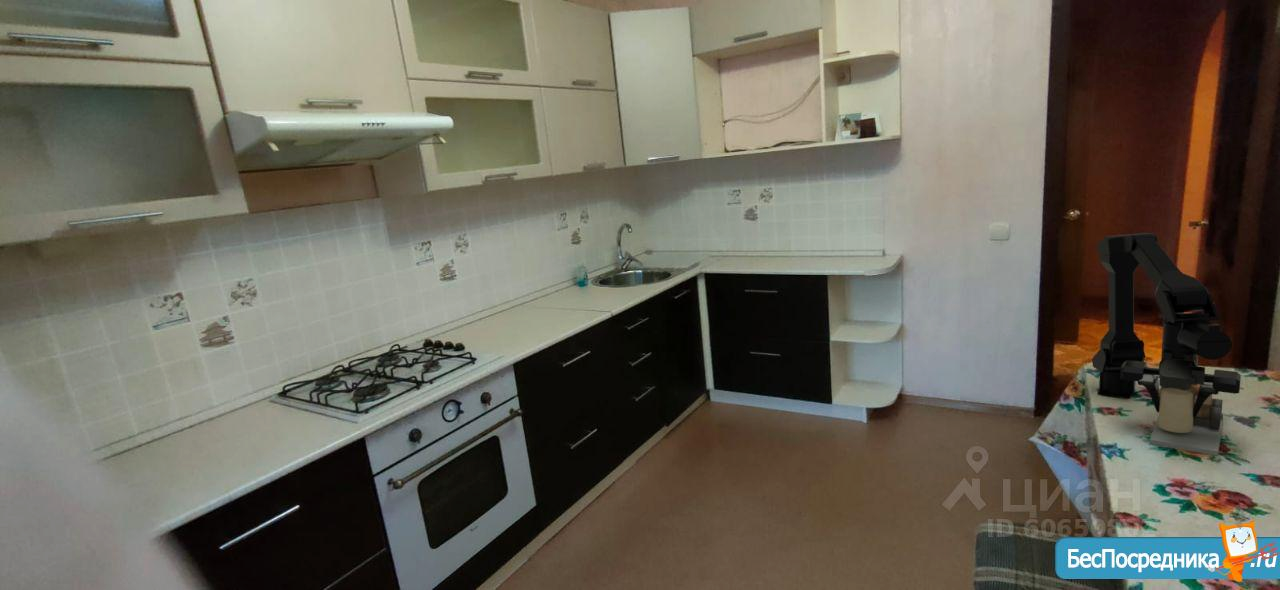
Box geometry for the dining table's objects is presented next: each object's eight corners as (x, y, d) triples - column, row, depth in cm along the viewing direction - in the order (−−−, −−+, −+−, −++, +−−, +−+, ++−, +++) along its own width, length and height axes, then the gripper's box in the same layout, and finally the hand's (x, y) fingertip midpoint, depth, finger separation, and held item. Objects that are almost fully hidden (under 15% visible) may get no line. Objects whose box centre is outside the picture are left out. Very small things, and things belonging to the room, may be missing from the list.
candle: (1197, 433, 129) (1200, 388, 127) (1165, 433, 131) (1167, 388, 129) (1184, 422, 134) (1187, 378, 132) (1153, 421, 136) (1155, 378, 134)
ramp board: (1149, 444, 131) (1150, 435, 130) (1160, 412, 143) (1160, 404, 143) (1217, 456, 123) (1218, 446, 123) (1222, 422, 136) (1223, 413, 135)
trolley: (1160, 422, 137) (1161, 400, 136) (1165, 407, 143) (1166, 385, 142) (1219, 432, 130) (1220, 408, 129) (1221, 415, 137) (1223, 392, 135)
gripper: (1117, 349, 130) (1114, 419, 133) (1241, 362, 117) (1235, 438, 120) (1125, 334, 137) (1122, 400, 141) (1243, 344, 124) (1237, 417, 127)
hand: (1175, 413), depth 132 cm, fingers closed on candle, 5 cm apart
